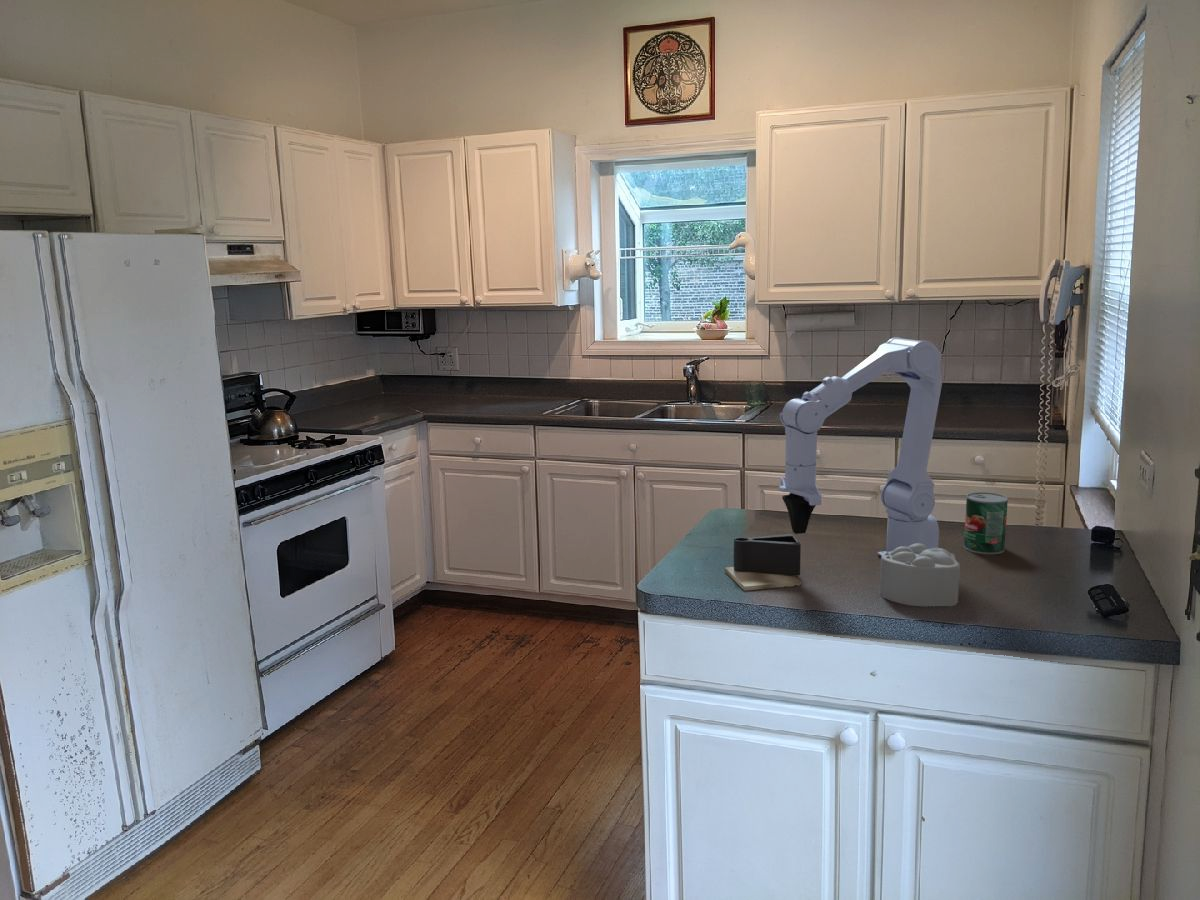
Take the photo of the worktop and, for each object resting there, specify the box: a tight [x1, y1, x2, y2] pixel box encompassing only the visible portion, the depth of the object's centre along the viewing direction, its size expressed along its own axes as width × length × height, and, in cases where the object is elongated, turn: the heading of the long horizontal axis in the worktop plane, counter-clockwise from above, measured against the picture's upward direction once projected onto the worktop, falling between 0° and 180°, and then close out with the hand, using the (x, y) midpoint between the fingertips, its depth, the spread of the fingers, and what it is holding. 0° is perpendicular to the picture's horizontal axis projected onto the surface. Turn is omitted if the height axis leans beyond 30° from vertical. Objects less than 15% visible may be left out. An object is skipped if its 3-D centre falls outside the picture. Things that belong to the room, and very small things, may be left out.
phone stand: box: [733, 533, 802, 576], centre depth 181 cm, size 9×6×12 cm
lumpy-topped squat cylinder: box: [879, 543, 961, 608], centre depth 167 cm, size 10×13×9 cm
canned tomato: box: [963, 491, 1009, 555], centre depth 192 cm, size 8×8×11 cm
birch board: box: [724, 566, 801, 592], centre depth 179 cm, size 11×11×1 cm
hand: (799, 532), depth 178 cm, fingers closed
